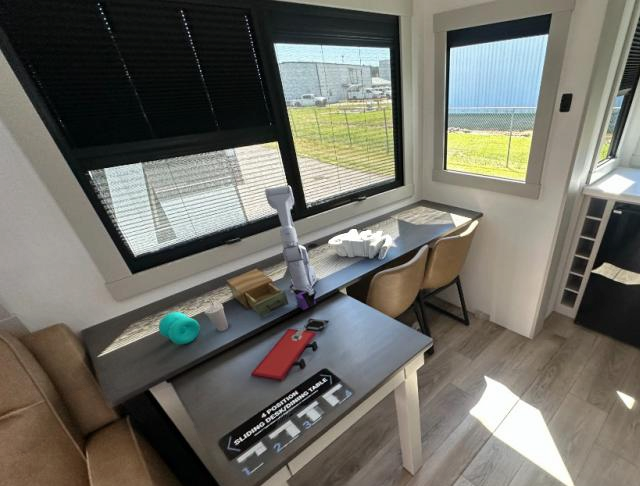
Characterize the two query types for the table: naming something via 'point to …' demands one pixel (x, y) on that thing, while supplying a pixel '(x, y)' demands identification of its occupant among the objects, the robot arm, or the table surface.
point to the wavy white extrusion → (361, 244)
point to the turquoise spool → (179, 328)
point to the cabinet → (247, 284)
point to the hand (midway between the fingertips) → (306, 302)
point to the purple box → (302, 301)
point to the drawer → (266, 299)
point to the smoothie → (217, 315)
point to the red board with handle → (289, 351)
